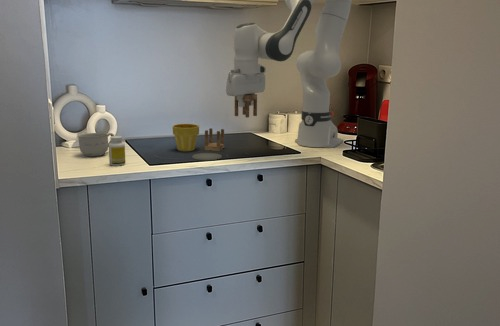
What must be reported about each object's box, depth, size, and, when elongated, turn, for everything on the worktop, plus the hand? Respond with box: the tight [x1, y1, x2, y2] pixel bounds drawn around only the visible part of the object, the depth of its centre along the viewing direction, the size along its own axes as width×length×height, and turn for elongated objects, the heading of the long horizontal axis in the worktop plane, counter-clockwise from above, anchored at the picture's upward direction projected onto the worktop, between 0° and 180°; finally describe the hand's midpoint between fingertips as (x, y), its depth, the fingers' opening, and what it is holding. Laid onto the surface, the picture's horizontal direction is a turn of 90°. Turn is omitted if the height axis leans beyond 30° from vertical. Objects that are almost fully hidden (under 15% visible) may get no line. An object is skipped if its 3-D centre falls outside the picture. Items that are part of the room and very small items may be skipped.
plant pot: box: [172, 123, 200, 152], centre depth 199 cm, size 10×10×10 cm
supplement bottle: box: [108, 135, 126, 167], centre depth 174 cm, size 5×5×10 cm
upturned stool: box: [204, 127, 225, 152], centre depth 201 cm, size 6×6×8 cm
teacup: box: [77, 132, 115, 157], centre depth 189 cm, size 14×11×8 cm
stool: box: [234, 93, 258, 118], centre depth 188 cm, size 6×6×8 cm
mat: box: [191, 152, 223, 162], centre depth 187 cm, size 11×11×1 cm
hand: (246, 106), depth 188 cm, fingers closed on stool, 4 cm apart
